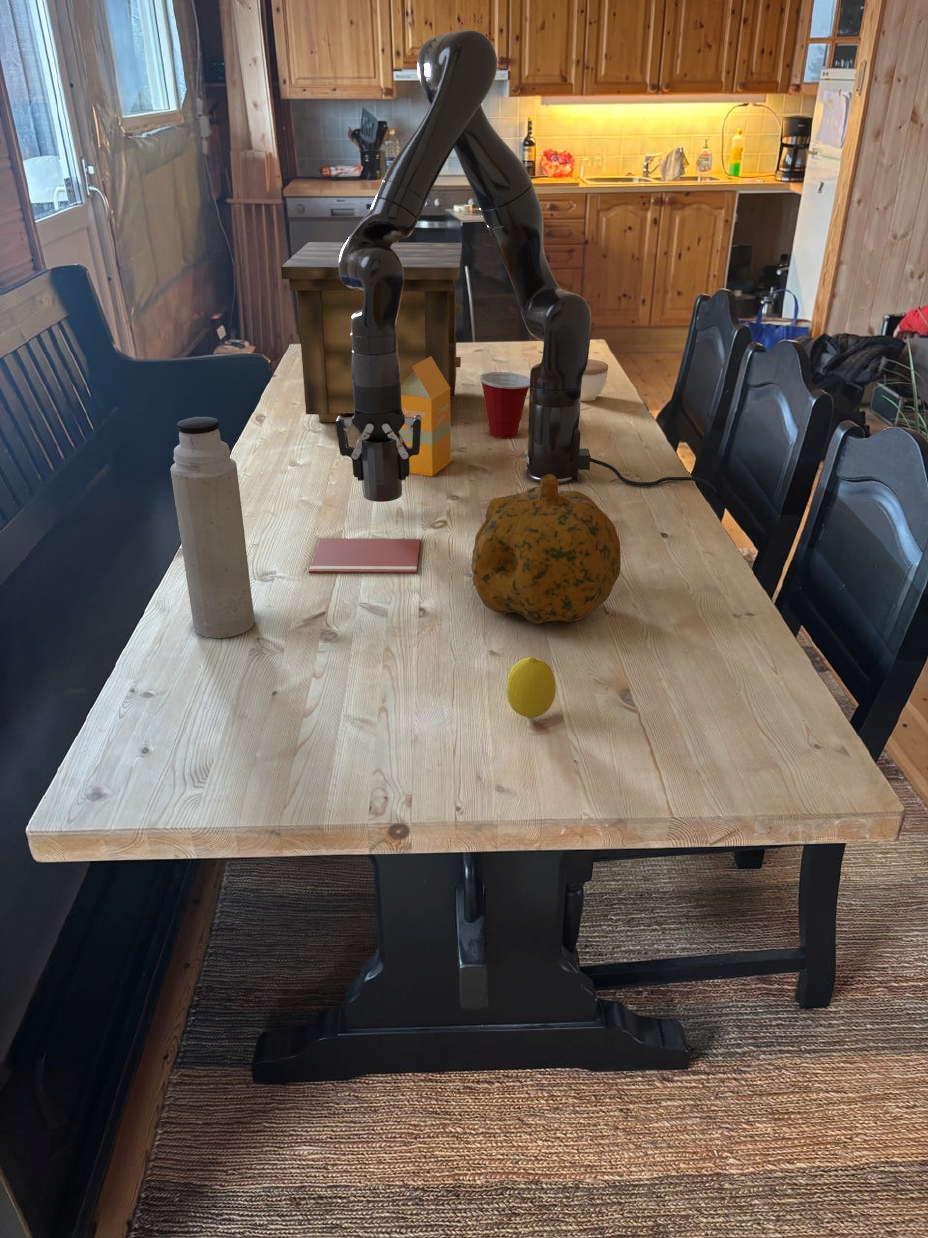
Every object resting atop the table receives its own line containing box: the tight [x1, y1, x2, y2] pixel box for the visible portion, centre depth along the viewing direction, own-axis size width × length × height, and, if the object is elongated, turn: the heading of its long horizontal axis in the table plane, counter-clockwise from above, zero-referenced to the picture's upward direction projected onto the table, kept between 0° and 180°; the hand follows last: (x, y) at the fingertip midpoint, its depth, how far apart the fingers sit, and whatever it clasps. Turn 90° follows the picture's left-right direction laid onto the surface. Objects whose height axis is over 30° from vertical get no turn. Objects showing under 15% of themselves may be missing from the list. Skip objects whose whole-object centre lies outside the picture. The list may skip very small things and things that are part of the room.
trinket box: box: [581, 358, 609, 402], centre depth 227 cm, size 11×11×9 cm
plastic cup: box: [479, 371, 530, 439], centre depth 202 cm, size 11×11×12 cm
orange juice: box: [399, 356, 452, 477], centre depth 183 cm, size 8×9×20 cm
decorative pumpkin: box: [470, 474, 622, 625], centre depth 132 cm, size 20×21×20 cm
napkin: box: [308, 538, 421, 574], centre depth 151 cm, size 16×12×1 cm
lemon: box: [505, 656, 557, 720], centre depth 110 cm, size 6×6×8 cm
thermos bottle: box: [170, 416, 255, 639], centre depth 125 cm, size 8×8×28 cm
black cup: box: [358, 434, 403, 503], centre depth 161 cm, size 6×6×10 cm
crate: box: [280, 241, 463, 423], centre depth 216 cm, size 35×35×33 cm
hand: (381, 478), depth 162 cm, fingers closed on black cup, 6 cm apart
